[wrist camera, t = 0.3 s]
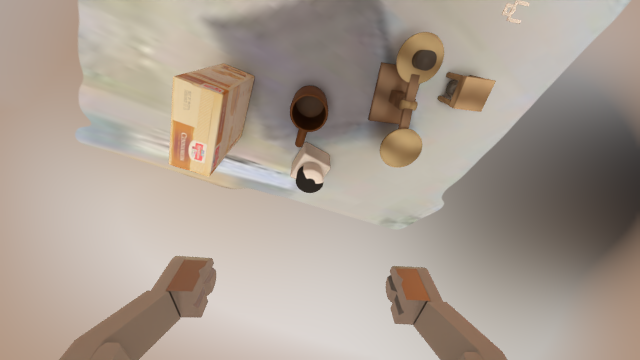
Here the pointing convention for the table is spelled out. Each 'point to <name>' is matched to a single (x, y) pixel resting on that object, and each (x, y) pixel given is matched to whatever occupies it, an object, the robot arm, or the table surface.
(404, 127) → the balance
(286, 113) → the table surface
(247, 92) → the coffeecake box
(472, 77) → the tan peg block
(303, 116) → the mug
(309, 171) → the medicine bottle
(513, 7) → the beige angular frame
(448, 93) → the grey domed cylinder
